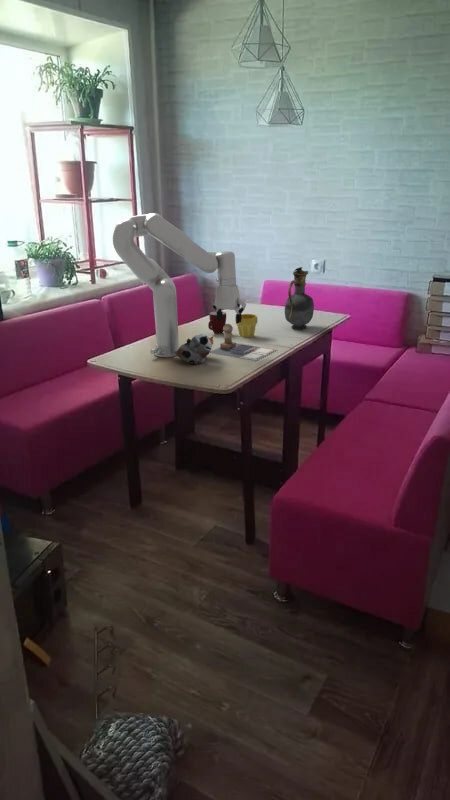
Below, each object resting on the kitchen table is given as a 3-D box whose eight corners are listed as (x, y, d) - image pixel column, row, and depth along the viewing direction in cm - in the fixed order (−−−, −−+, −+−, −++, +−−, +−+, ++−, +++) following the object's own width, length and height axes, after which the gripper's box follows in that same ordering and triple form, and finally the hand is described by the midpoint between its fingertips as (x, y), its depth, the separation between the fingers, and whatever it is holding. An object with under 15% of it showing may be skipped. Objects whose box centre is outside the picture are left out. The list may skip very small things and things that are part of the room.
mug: (217, 337, 280) (217, 316, 276) (203, 335, 284) (203, 315, 281) (229, 332, 288) (229, 312, 285) (216, 330, 292) (215, 310, 289)
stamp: (229, 350, 257) (229, 325, 253) (220, 349, 259) (219, 324, 255) (236, 348, 261) (235, 323, 257) (226, 346, 263) (226, 322, 259)
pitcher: (315, 325, 296) (317, 264, 285) (298, 334, 281) (300, 270, 271) (296, 323, 302) (297, 263, 291) (278, 331, 287) (278, 269, 276)
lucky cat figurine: (188, 354, 256) (203, 326, 251) (208, 369, 251) (223, 340, 247) (168, 353, 243) (183, 323, 238) (189, 369, 238) (205, 339, 234)
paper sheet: (255, 360, 243) (255, 359, 243) (239, 357, 248) (239, 356, 247) (276, 349, 256) (276, 349, 256) (260, 347, 261) (260, 346, 260)
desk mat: (255, 362, 243) (255, 360, 243) (208, 353, 256) (208, 352, 256) (277, 351, 257) (277, 349, 257) (231, 343, 270) (231, 342, 269)
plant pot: (231, 338, 279) (231, 317, 275) (241, 332, 287) (241, 312, 284) (251, 340, 274) (251, 319, 270) (261, 334, 283) (261, 314, 279)
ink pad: (244, 354, 251) (244, 351, 250) (230, 352, 254) (230, 349, 254) (255, 349, 258) (255, 346, 257) (241, 347, 261) (241, 343, 261)
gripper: (205, 282, 251) (208, 321, 258) (239, 284, 242) (241, 325, 248) (215, 279, 257) (217, 317, 263) (249, 281, 248) (250, 321, 254)
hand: (229, 321), depth 256 cm, fingers open, 9 cm apart
